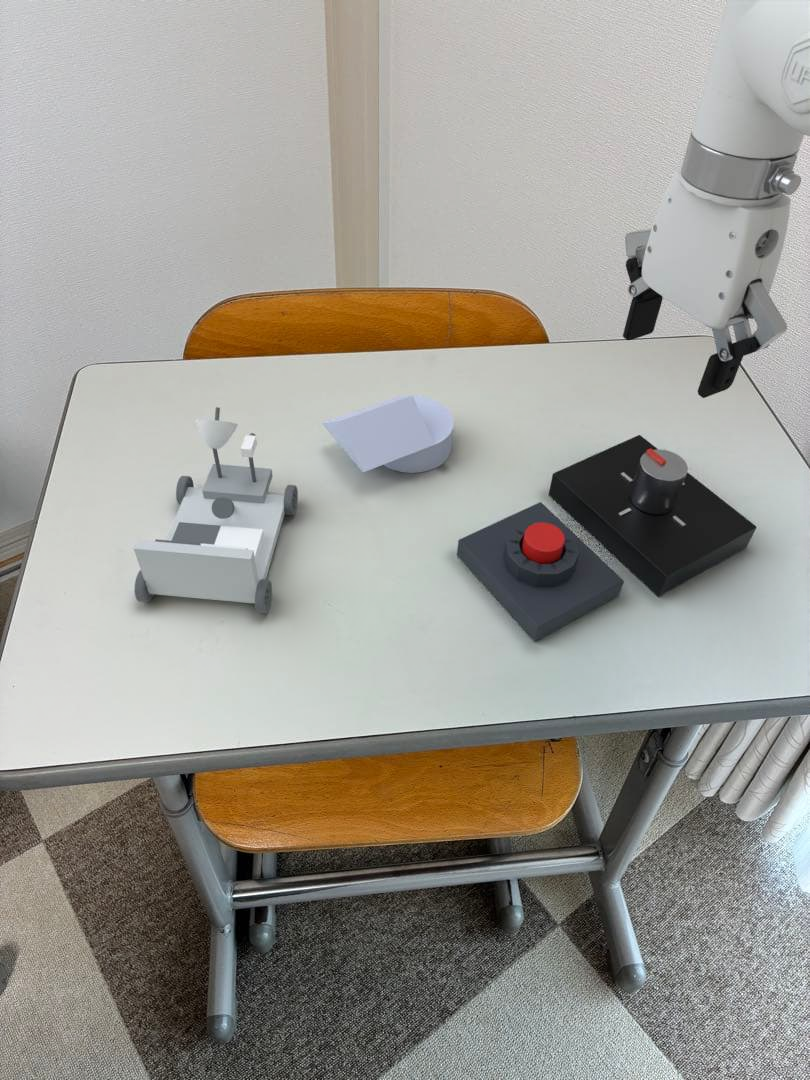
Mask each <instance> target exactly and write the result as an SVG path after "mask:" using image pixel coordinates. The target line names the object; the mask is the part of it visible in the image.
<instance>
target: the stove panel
mask: <svg viewBox="0 0 810 1080" xmlns="http://www.w3.org/2000/svg"><path fill="white" fill-rule="evenodd" d="M650 448H651V449H652V450H657V449H658V448H657V447H656V446H655V445H653V444H652V443H651V442H650V441H648V440H647V439H646V438H645V437H643V436H642V435H641V434H638V435H636V436H633V437H631V438H629V439H627V440H624V441H622V442H620V443H617V444H615V445H614V446H611V447H609V448H607V449H604V450H602V451H600V452H598V453H595V454H593V455H591V456H589V457H587V458H584V459H582V460H580V461H577V462H576V463H573V464H571V465H569V466H568V465H567V466H566V467H564V468H561V469H560V470H557V471H555V472H553V473H552V476H551V481H550V485H549V489H548V496H549V497H550V498H552V500H553V501H555V502H556V503H557V504H558V505H559V507H561V508H562V509H563V510H564V511H565V512H566V513H567V514H569V516H571V517H572V519H574V520H575V521H576V522H577V523H578V524H579V525H580V526H581V527H583V529H584V530H586V531H587V532H588V534H590V535H591V536H592V537H593V538H594V539H595V540H596V541H597V542H598V543H600V545H602V547H604V548H605V549H606V550H607V551H608V552H609V553H610V554H611V555H612V556H613V557H615V559H617V560H618V561H619V562H620V564H622V565H623V566H624V567H625V568H626V569H627V570H629V572H631V573H632V574H633V575H634V576H635V577H636V578H637V579H638V580H639V581H641V583H642V584H643V585H645V586H646V587H647V588H648V589H649V590H650V591H651V592H652V593H653V594H654V595H655V596H657V597H658V598H660V597H661V596H663V595H665V594H667V593H669V592H670V591H672V590H674V589H675V588H677V587H679V586H680V585H683V584H685V583H687V582H688V581H690V580H692V579H694V578H696V577H697V576H699V575H700V574H702V573H704V572H706V571H708V570H709V569H711V568H713V567H714V566H717V565H719V564H720V563H721V562H724V561H725V560H727V559H729V558H731V557H733V556H735V555H737V554H738V553H740V552H742V551H743V550H745V549H747V548H748V545H749V544H750V542H751V540H752V537H753V536H754V533H755V531H756V530H757V528H758V526H756V525H755V524H754V523H753V522H751V520H749V519H748V518H746V517H745V516H744V515H743V514H741V513H740V512H739V511H738V510H736V509H735V508H734V507H733V506H731V505H730V504H729V503H727V502H726V501H725V500H723V499H722V498H721V497H719V496H718V495H717V494H716V493H715V492H713V491H712V490H711V489H710V488H709V487H707V486H705V485H704V483H702V482H701V481H699V480H698V479H697V478H696V477H694V476H693V475H692V474H690V473H689V471H687V474H686V477H685V479H684V482H683V485H682V487H681V490H680V493H679V495H678V498H677V501H676V503H675V506H674V508H673V509H672V510H671V511H669V512H667V513H665V514H650V513H646V512H644V511H642V510H640V509H638V508H637V507H636V506H635V505H634V504H633V503H632V502H631V499H630V491H631V488H632V484H633V481H634V478H635V475H636V472H637V469H638V466H639V462H640V459H641V457H642V455H643V454H645V453H646V451H647V450H648V449H650Z"/></svg>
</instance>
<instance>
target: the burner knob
mask: <svg viewBox="0 0 810 1080" xmlns="http://www.w3.org/2000/svg"><path fill="white" fill-rule="evenodd" d="M688 470H689V469H688V463H687V462H686V460H685V459H684V458H683V457H682V456H680V455H679V454H677V453H675V452H673V451H670V450H667V449H659V448H657V450H652V449H651V448H650V449H648V450H647V451H646V453H645V454H643V455H642V457H641V459H640V462H639V466H638V469H637V472H636V475H635V478H634V481H633V484H632V488H631V491H630V499H631V502H632V503H633V504H634V505H635V506H636V507H637V508H638V509H640V510H642V511H644V512H646V513H650V514H665V513H667V512H669V511H671V510H672V509H673V508H674V506H675V503H676V501H677V498H678V495H679V493H680V490H681V487H682V485H683V482H684V479H685V477H686V474H687V472H689V471H688Z"/></svg>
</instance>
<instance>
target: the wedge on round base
mask: <svg viewBox="0 0 810 1080" xmlns="http://www.w3.org/2000/svg"><path fill="white" fill-rule="evenodd" d="M321 424H322V426H323V427H324V428H325V429H326V430H327V432H328V433H329V434H330V435H331V436H332V438H334V440H335V441H336V442H337V444H338V445H339V446H340V447H341V448H342V449H343V450H344V452H345V453H346V454H347V455H348V457H349V458H350V459H351V460H352V461H353V462H354V464H355V465H356V466H357V468H359V470H360V471H361V472H362V473H366V472H368V471H370V470H373V469H376V468H378V467H381V466H384V467H386V468H388V469H390V470H392V471H396V472H399V473H400V472H401V473H406V474H407V473H409V474H413V473H415V474H416V473H417V474H418V473H424V472H428V471H431V470H434V469H436V468H438V467H440V466H441V465H443V464H445V462H446V461H447V460H448V459H449V457H450V455H451V453H452V450H453V449H452V448H453V437H454V426H455V420H454V416H453V414H452V412H451V411H450V410H449V408H447V407H446V406H445V405H444V404H442V403H441V402H440V401H437V400H435V399H433V398H430V397H426V396H422V395H414V394H413V395H400V396H395V397H391V398H388V399H385V400H382V401H380V402H376V403H374V404H371V405H368V406H365V407H363V408H360V409H357V410H354V411H351V412H348V413H345V414H342V415H340V416H337V417H334V418H331V419H328V420H326V421H322V422H321Z"/></svg>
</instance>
